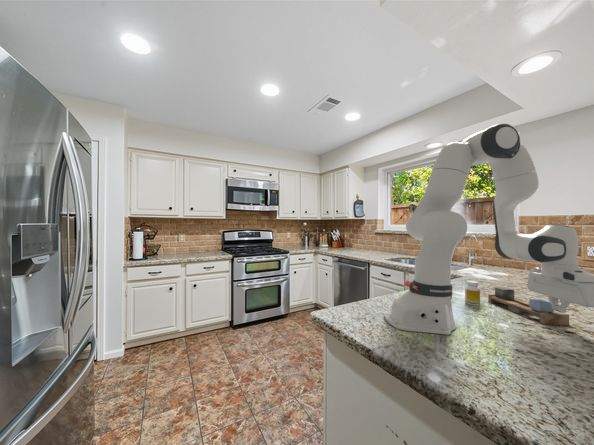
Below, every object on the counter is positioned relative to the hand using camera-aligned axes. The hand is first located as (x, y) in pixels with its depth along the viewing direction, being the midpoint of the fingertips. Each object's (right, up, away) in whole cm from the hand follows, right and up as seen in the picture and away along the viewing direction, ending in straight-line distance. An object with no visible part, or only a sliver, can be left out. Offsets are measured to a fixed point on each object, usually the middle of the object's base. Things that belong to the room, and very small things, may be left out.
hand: (558, 311), depth 84 cm
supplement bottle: (-14, -5, +22) cm, 27 cm away
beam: (0, -5, +13) cm, 14 cm away
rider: (0, -3, +6) cm, 7 cm away
